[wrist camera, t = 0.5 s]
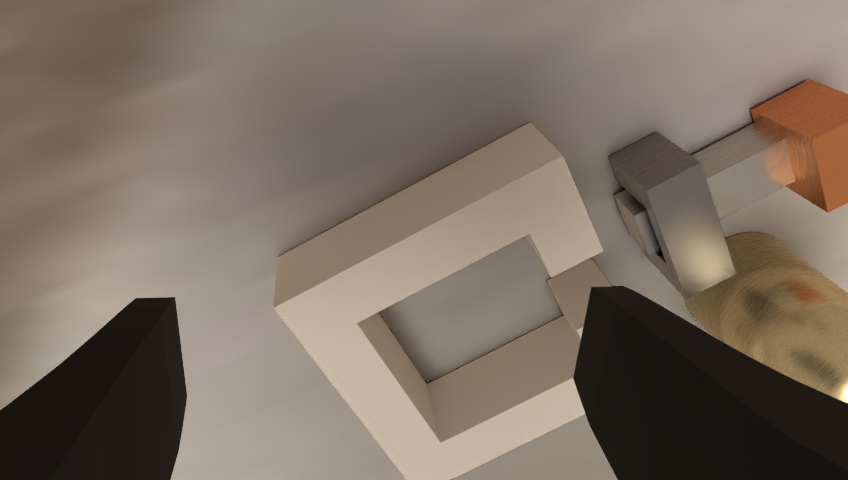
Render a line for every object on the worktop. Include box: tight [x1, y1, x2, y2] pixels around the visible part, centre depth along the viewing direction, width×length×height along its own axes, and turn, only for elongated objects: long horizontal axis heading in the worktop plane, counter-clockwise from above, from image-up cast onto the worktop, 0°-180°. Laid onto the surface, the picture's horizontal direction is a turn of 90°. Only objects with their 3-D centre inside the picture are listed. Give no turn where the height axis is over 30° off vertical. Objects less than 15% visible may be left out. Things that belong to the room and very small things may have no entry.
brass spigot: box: [684, 232, 848, 403], centre depth 22 cm, size 4×4×7 cm
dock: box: [274, 122, 612, 480], centre depth 22 cm, size 9×9×3 cm
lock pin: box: [614, 80, 848, 255], centre depth 21 cm, size 3×7×3 cm, turn 116°
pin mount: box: [608, 132, 736, 299], centre depth 21 cm, size 4×2×3 cm, turn 27°
